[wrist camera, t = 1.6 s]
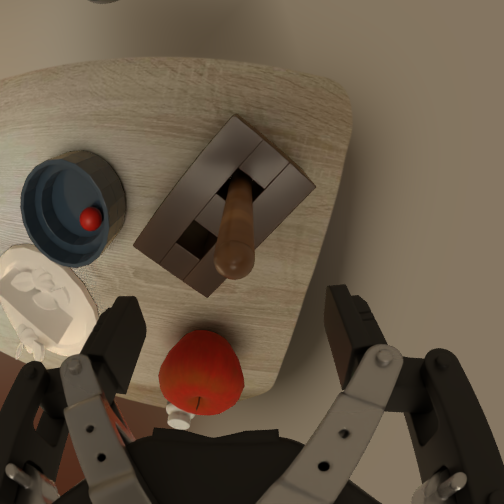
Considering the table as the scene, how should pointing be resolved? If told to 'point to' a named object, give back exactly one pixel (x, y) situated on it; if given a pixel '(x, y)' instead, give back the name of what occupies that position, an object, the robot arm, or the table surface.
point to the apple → (202, 374)
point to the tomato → (90, 218)
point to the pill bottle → (178, 417)
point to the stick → (236, 230)
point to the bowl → (72, 207)
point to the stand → (221, 203)
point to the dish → (45, 303)
